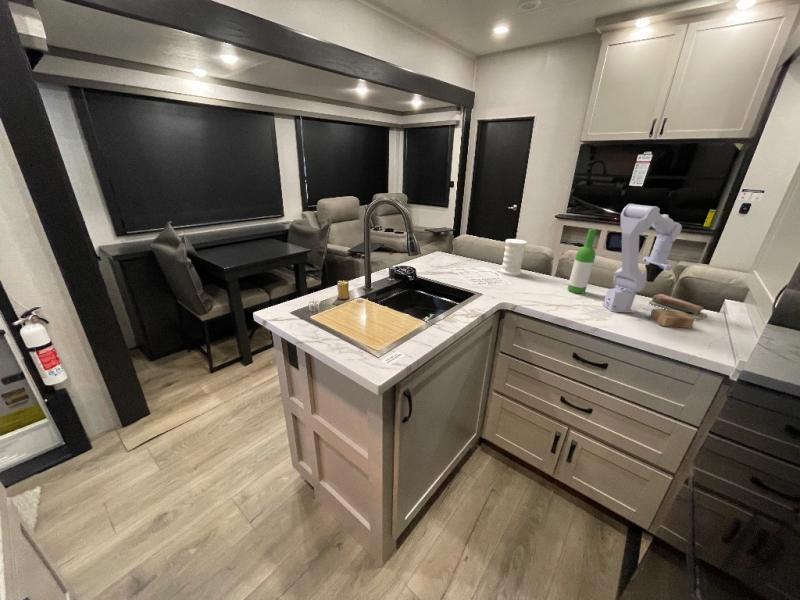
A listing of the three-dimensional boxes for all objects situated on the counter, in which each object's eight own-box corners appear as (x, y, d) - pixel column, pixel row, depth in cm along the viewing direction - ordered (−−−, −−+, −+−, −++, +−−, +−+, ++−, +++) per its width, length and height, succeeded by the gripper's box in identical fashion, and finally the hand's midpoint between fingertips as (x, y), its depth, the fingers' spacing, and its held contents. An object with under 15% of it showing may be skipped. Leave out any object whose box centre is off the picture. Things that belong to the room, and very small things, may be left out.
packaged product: (650, 294, 138) (662, 291, 142) (646, 304, 140) (658, 301, 144) (701, 310, 123) (712, 306, 128) (696, 321, 125) (707, 317, 130)
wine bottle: (588, 293, 149) (606, 230, 138) (577, 295, 147) (594, 231, 135) (574, 287, 156) (591, 227, 144) (563, 289, 153) (579, 227, 141)
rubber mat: (659, 325, 119) (659, 325, 119) (645, 316, 127) (646, 316, 127) (692, 327, 119) (692, 327, 119) (676, 318, 126) (676, 317, 126)
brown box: (667, 317, 117) (652, 308, 125) (663, 326, 119) (649, 316, 126) (694, 319, 117) (678, 310, 124) (691, 327, 118) (675, 318, 126)
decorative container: (519, 270, 180) (525, 239, 173) (522, 276, 169) (529, 244, 162) (498, 268, 182) (503, 238, 175) (500, 275, 171) (506, 242, 164)
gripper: (684, 255, 124) (671, 287, 129) (658, 247, 137) (648, 276, 142) (665, 254, 124) (653, 286, 129) (642, 246, 137) (632, 275, 143)
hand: (649, 281), depth 136 cm, fingers closed
